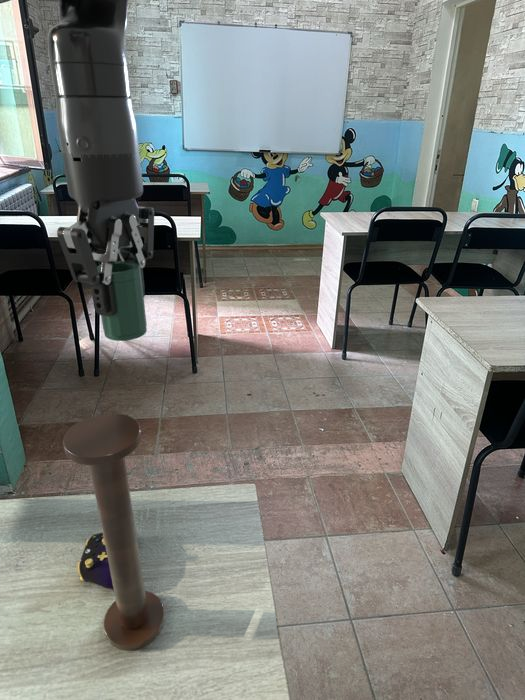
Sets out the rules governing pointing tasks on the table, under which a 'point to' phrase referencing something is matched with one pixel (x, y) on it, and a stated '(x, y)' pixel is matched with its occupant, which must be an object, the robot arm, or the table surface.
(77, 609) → the table surface
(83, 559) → the gaming controller
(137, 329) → the jar
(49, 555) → the table surface
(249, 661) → the table surface
